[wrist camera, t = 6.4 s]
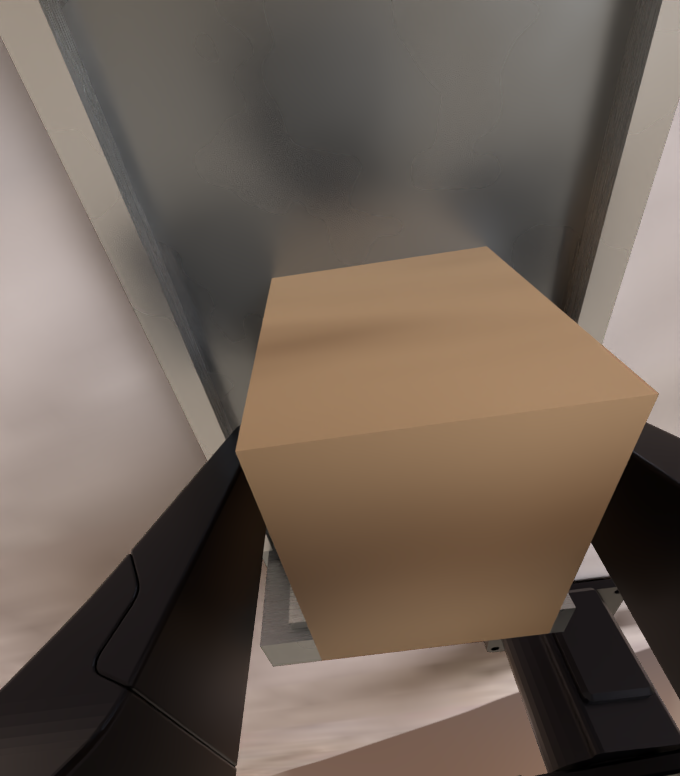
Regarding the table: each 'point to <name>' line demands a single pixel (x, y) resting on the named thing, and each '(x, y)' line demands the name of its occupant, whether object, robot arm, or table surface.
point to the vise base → (344, 161)
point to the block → (431, 449)
